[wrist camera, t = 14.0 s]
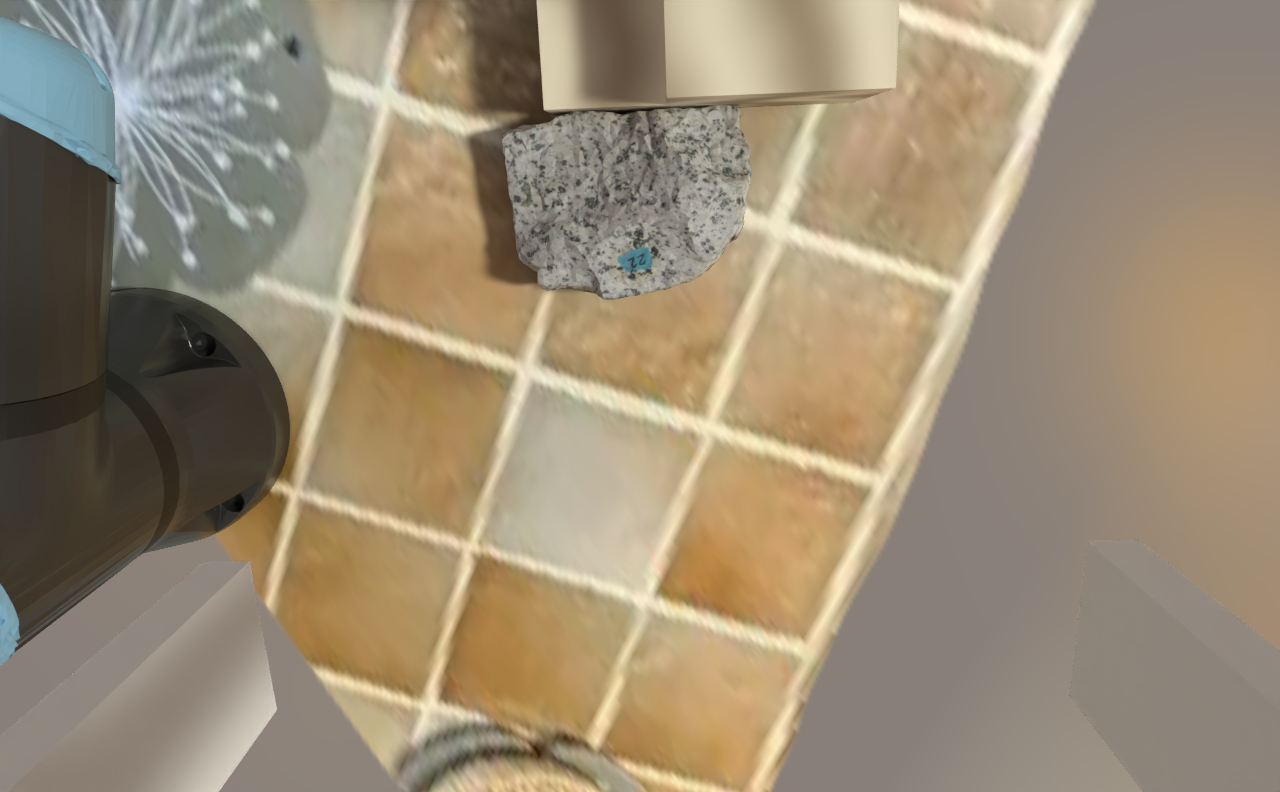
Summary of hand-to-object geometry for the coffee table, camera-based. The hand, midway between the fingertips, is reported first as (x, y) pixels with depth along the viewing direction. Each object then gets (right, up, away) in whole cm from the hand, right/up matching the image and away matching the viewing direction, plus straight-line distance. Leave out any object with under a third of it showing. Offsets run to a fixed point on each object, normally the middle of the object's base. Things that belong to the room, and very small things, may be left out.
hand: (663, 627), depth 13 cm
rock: (-1, +15, +33) cm, 36 cm away
